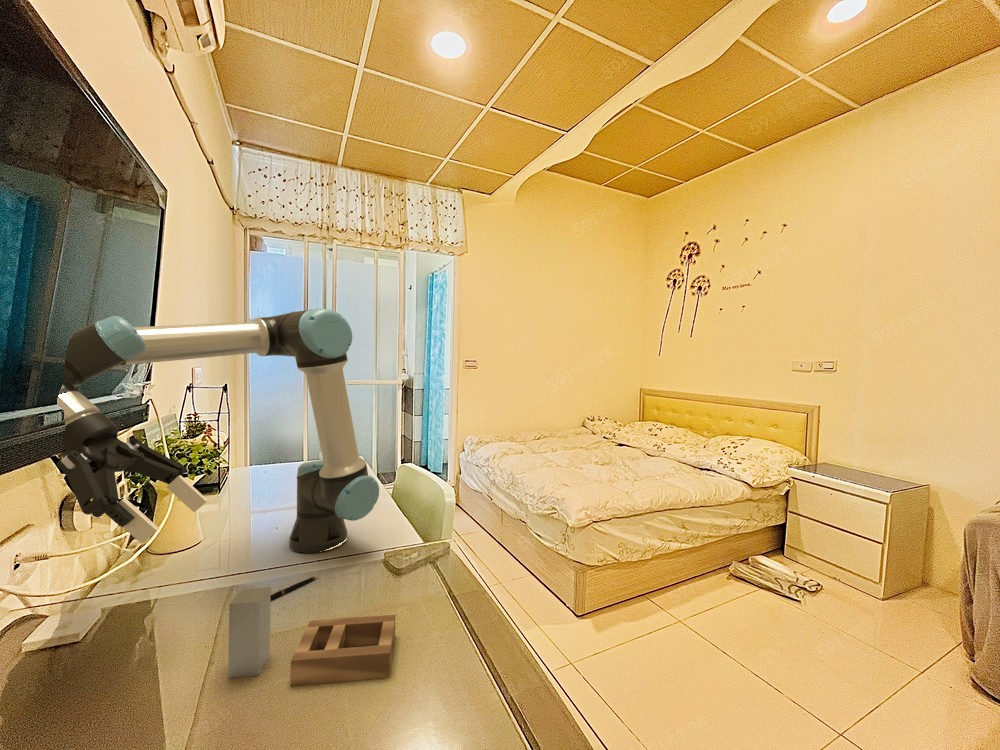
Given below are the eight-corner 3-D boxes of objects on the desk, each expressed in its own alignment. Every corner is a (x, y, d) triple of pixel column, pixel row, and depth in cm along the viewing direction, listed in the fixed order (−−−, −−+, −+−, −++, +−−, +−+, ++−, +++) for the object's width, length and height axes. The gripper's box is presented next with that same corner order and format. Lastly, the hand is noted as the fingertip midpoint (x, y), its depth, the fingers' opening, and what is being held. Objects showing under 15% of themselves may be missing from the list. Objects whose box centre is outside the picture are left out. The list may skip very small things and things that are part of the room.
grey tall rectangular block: (241, 658, 71) (242, 588, 71) (269, 656, 72) (270, 587, 71) (228, 678, 67) (229, 603, 66) (258, 675, 67) (259, 601, 67)
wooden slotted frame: (310, 642, 76) (310, 620, 75) (395, 635, 78) (395, 614, 78) (290, 686, 65) (290, 660, 65) (389, 677, 68) (389, 652, 67)
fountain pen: (318, 577, 99) (318, 570, 99) (321, 578, 99) (321, 572, 98) (257, 605, 87) (257, 598, 87) (260, 607, 86) (260, 600, 86)
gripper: (115, 432, 78) (201, 510, 80) (-32, 461, 53) (99, 573, 56) (148, 404, 79) (232, 483, 81) (17, 420, 54) (144, 532, 56)
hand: (178, 519), depth 68 cm, fingers open, 13 cm apart
